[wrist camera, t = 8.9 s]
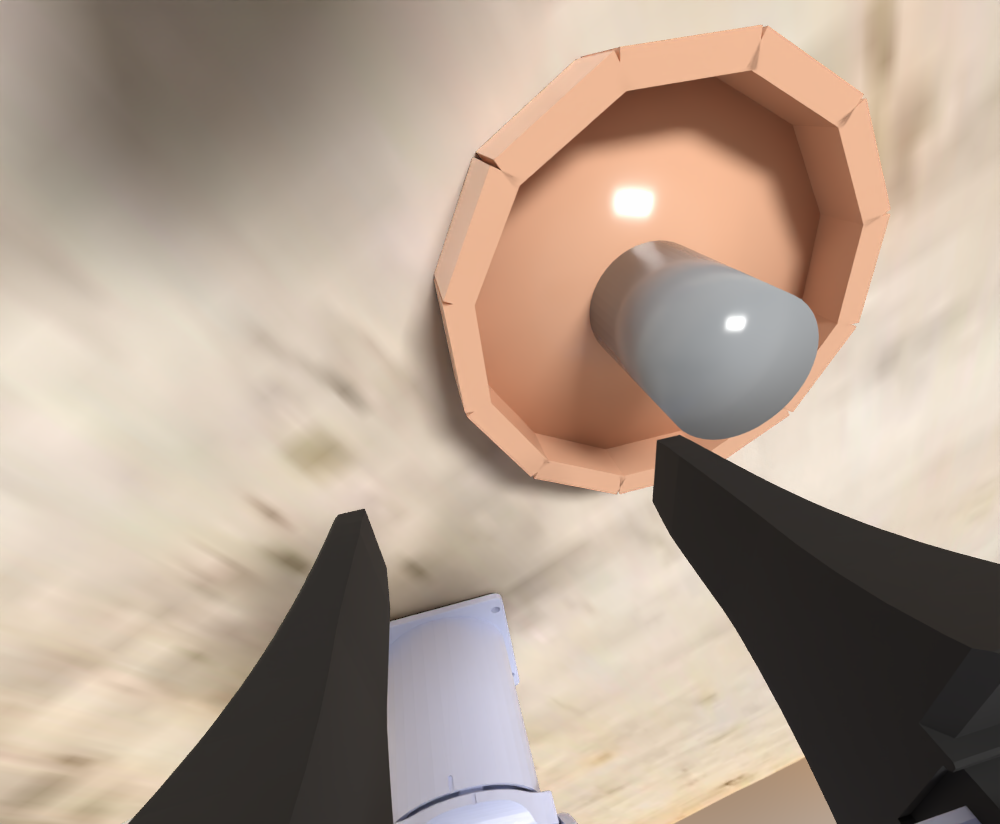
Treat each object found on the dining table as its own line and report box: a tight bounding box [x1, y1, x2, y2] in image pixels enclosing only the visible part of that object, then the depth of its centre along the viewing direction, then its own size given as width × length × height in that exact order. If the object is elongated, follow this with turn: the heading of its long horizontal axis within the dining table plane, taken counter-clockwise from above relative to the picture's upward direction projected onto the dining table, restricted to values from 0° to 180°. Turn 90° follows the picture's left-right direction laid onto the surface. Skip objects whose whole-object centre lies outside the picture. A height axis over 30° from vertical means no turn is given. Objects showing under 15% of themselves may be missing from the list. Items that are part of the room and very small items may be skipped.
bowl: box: [434, 25, 890, 494], centre depth 19 cm, size 16×16×3 cm
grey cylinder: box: [590, 240, 819, 440], centre depth 17 cm, size 5×5×6 cm
